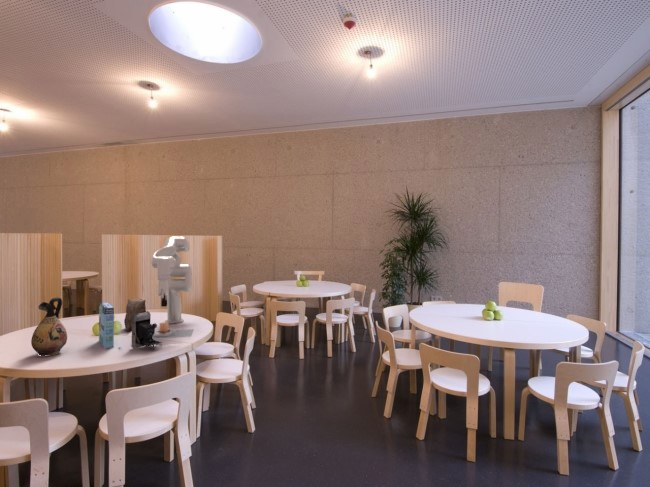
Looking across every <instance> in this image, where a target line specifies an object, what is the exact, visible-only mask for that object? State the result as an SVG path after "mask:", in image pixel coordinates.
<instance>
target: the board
mask: <svg viewBox="0 0 650 487" xmlns="http://www.w3.org/2000/svg"><path fill="white" fill-rule="evenodd" d="M175 330H176V333H175V335H172V336H168V337H154V336H152V339H154V340H157V339H171V338H174V339H175V338H189V337H190V338H191V337H192V335H193V332H194V331H195V329H194V328H192V329H175Z"/></svg>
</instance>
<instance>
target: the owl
mask: <svg viewBox="0 0 650 487" xmlns="http://www.w3.org/2000/svg"><path fill="white" fill-rule="evenodd" d="M125 309H126V310H125V313H126V314H125V316H124V327H125V331H126V332H127V333H130V332H132V315H134V313H135V314H139V313H144V312H147V309H146V299H141V298H139V299H132V298H128V299H127V303H126V307H125Z"/></svg>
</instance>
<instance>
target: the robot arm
mask: <svg viewBox="0 0 650 487" xmlns="http://www.w3.org/2000/svg"><path fill="white" fill-rule="evenodd" d="M190 247H191V246H190V241H189V240H188V238H186V237H185V236H169V237H167V238H166V240H165V242H164V245H163V247H161V248H160V249H158V250H156V251H155V252H154V253H153V255H152V259H151V267H153V268H154V269H157V274H156V275H157V277H156V279H157V281H158V286H157V288H158V289H157V296H158V297H161V300H160V301H161V303H160V304H161V306H160V307H163V308H164V307H167V315H166V316H167V319H166V320H164V322H168V323H169V324H179V323H180V324H181V323H182V322H184V320H185V319H184V318H182V296H181V295H180V293H183V292H184V293H185V292H190V291H191V290H192V279H193V278H192V273H193V272H192V266H191V265H190V264H187V263H184V264H183V263H182V257H181V255H180V254H179V253H188V252H189V251H190Z"/></svg>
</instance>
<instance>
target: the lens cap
mask: <svg viewBox="0 0 650 487" xmlns="http://www.w3.org/2000/svg"><path fill="white" fill-rule="evenodd" d="M169 324H170V323H168V322H165V321H164V322H160V323H159V329H160V333H165V332H169V329H170V328H169V327H170V326H169Z"/></svg>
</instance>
